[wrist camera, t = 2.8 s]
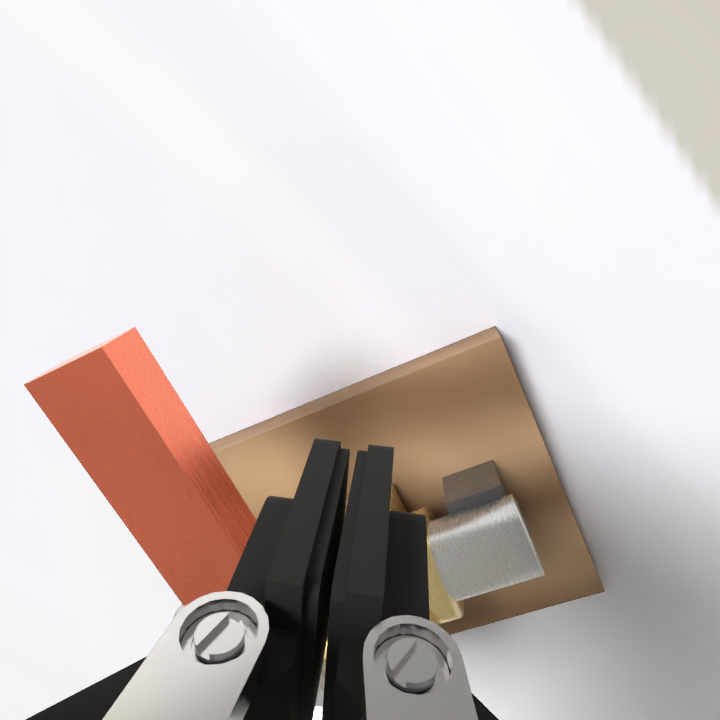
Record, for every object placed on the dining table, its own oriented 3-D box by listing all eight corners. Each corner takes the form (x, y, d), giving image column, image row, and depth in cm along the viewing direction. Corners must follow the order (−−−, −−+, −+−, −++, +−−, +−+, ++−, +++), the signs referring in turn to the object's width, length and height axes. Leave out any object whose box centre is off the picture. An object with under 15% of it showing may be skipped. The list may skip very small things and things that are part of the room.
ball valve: (533, 533, 24) (587, 692, 17) (240, 625, 28) (181, 788, 20) (492, 442, 23) (533, 572, 15) (189, 551, 26) (106, 699, 19)
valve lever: (386, 716, 18) (383, 791, 16) (315, 734, 19) (302, 808, 16) (141, 324, 14) (91, 353, 12) (58, 364, 14) (-4, 399, 12)
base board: (594, 568, 26) (604, 591, 25) (256, 666, 31) (249, 690, 29) (495, 325, 22) (500, 336, 21) (124, 478, 27) (108, 495, 26)
